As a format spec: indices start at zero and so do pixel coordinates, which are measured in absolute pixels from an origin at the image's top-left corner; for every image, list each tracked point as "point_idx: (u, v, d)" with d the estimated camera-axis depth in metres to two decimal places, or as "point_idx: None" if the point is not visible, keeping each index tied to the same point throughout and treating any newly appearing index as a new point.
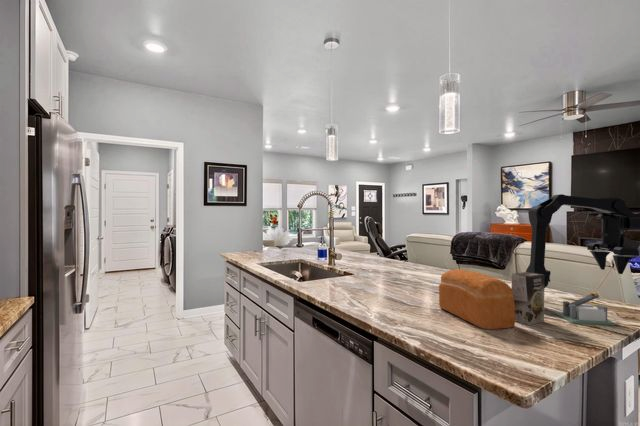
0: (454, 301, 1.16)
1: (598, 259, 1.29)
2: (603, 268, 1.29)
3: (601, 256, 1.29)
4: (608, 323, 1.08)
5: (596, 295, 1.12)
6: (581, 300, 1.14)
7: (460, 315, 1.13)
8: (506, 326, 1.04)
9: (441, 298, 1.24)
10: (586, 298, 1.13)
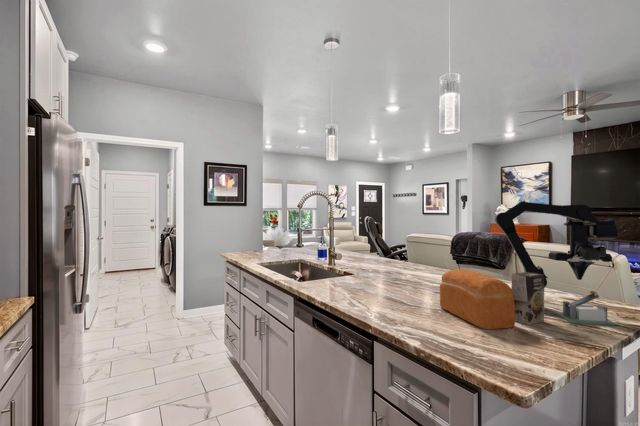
0: (454, 301, 1.16)
1: None
2: None
3: None
4: (608, 323, 1.08)
5: (596, 295, 1.12)
6: (581, 300, 1.14)
7: (460, 315, 1.14)
8: (506, 326, 1.04)
9: (442, 298, 1.25)
10: (586, 298, 1.13)
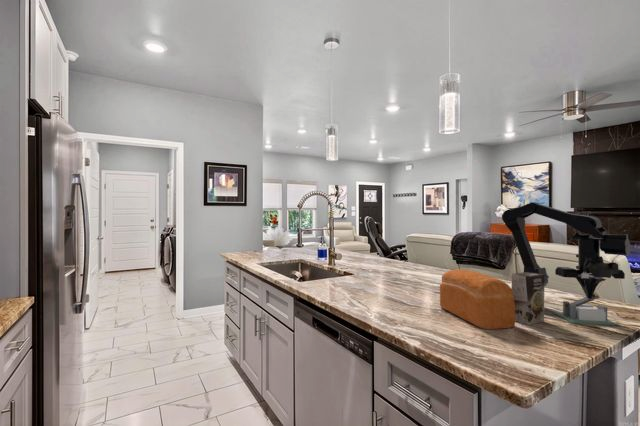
0: (455, 301, 1.16)
1: None
2: None
3: None
4: (608, 323, 1.08)
5: (596, 296, 1.12)
6: (581, 300, 1.13)
7: (460, 315, 1.14)
8: (506, 326, 1.04)
9: (442, 298, 1.25)
10: (586, 298, 1.13)
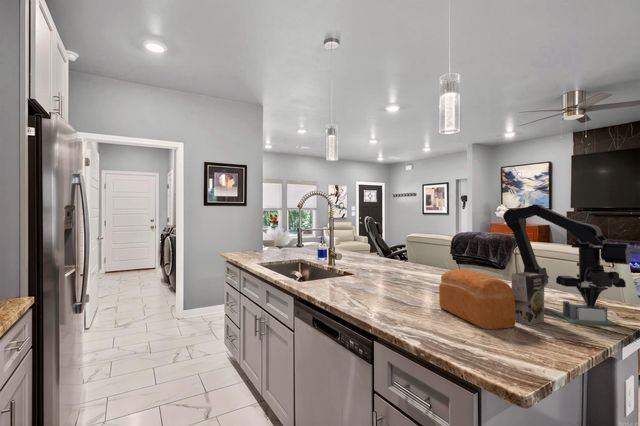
0: (455, 301, 1.16)
1: None
2: (591, 304, 1.13)
3: (592, 291, 1.13)
4: (608, 323, 1.08)
5: (600, 306, 1.12)
6: (583, 305, 1.13)
7: (460, 315, 1.13)
8: (506, 326, 1.04)
9: (441, 298, 1.24)
10: None
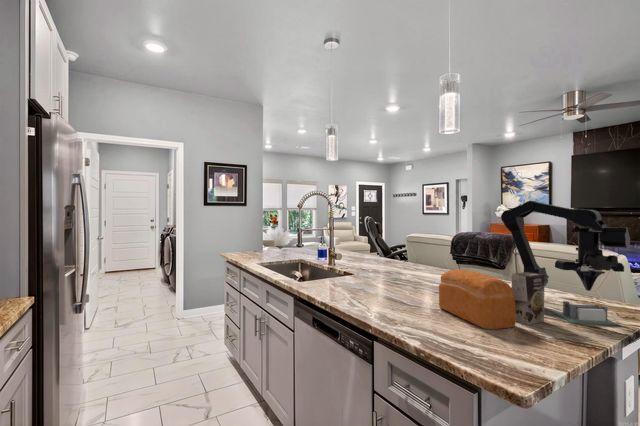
0: (455, 301, 1.16)
1: None
2: None
3: None
4: (608, 323, 1.08)
5: (600, 306, 1.12)
6: (583, 305, 1.13)
7: (461, 315, 1.13)
8: (507, 326, 1.04)
9: (441, 298, 1.24)
10: (589, 306, 1.13)
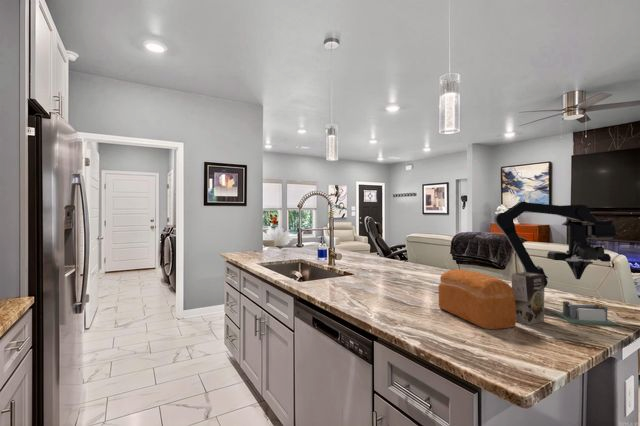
0: (455, 302, 1.16)
1: None
2: None
3: None
4: (608, 323, 1.08)
5: (600, 306, 1.12)
6: (583, 305, 1.13)
7: (461, 315, 1.13)
8: (507, 326, 1.05)
9: (441, 298, 1.24)
10: (589, 306, 1.13)
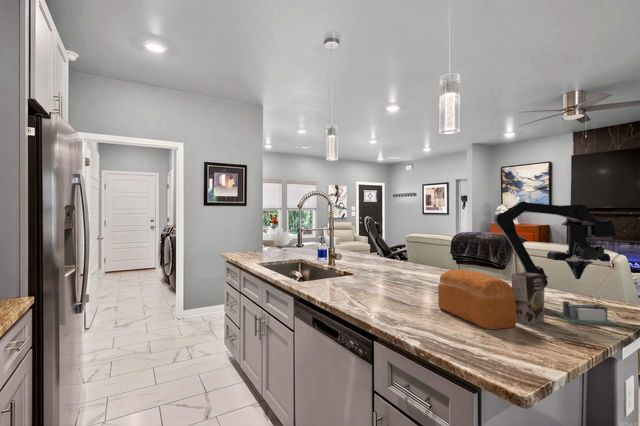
0: (455, 302, 1.16)
1: None
2: None
3: None
4: (608, 323, 1.08)
5: (600, 306, 1.12)
6: (583, 305, 1.13)
7: (461, 315, 1.13)
8: (508, 326, 1.05)
9: (440, 298, 1.24)
10: (589, 306, 1.13)
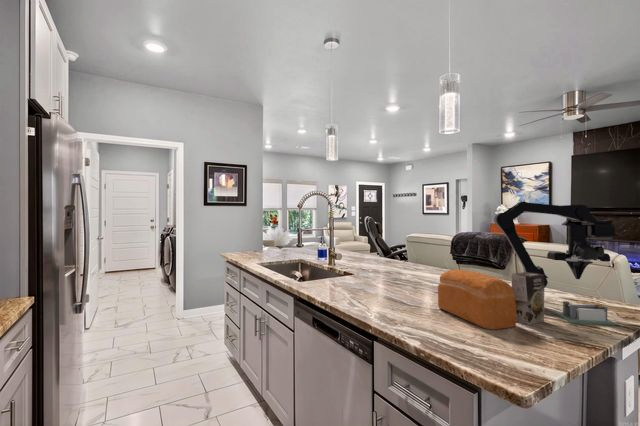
0: (455, 302, 1.16)
1: None
2: None
3: None
4: (608, 323, 1.08)
5: (600, 306, 1.12)
6: (583, 305, 1.13)
7: (461, 315, 1.13)
8: (508, 326, 1.05)
9: (440, 298, 1.24)
10: (589, 306, 1.13)
